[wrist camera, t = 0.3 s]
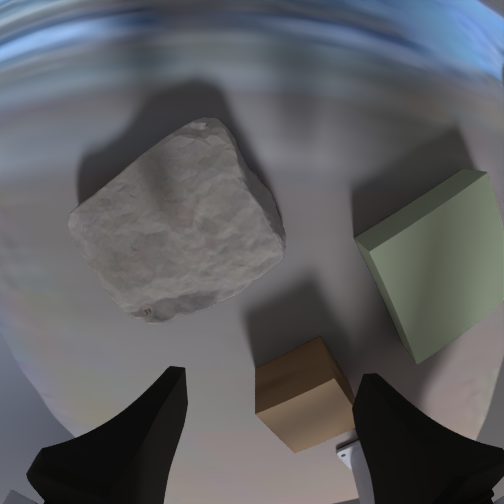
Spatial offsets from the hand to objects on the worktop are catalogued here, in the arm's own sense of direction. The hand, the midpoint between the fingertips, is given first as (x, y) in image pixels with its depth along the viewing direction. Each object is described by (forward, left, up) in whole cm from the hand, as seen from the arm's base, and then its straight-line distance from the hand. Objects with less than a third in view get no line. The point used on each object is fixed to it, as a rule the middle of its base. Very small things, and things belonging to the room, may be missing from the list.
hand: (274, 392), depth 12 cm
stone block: (+7, +2, -10) cm, 12 cm away
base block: (-5, -12, -10) cm, 16 cm away
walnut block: (-8, +1, -10) cm, 12 cm away
